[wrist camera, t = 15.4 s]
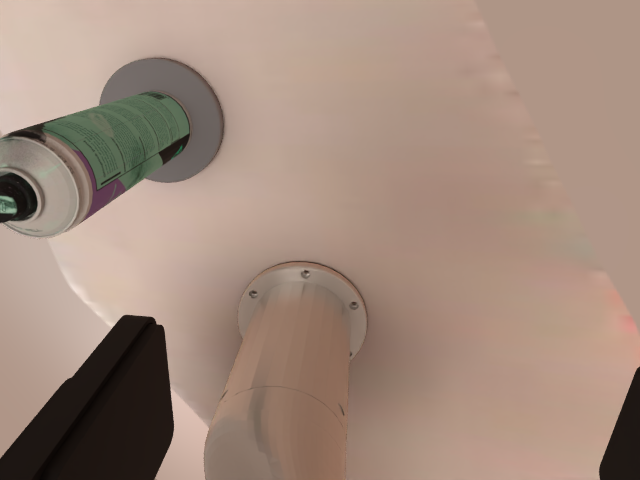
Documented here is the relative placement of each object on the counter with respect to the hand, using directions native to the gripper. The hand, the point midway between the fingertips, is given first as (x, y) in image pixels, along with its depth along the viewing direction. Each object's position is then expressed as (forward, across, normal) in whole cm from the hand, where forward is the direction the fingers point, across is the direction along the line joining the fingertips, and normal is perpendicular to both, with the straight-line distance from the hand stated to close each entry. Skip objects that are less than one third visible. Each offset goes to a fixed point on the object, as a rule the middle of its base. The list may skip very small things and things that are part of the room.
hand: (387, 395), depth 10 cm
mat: (+33, +17, +2) cm, 37 cm away
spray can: (+32, +17, +2) cm, 36 cm away
